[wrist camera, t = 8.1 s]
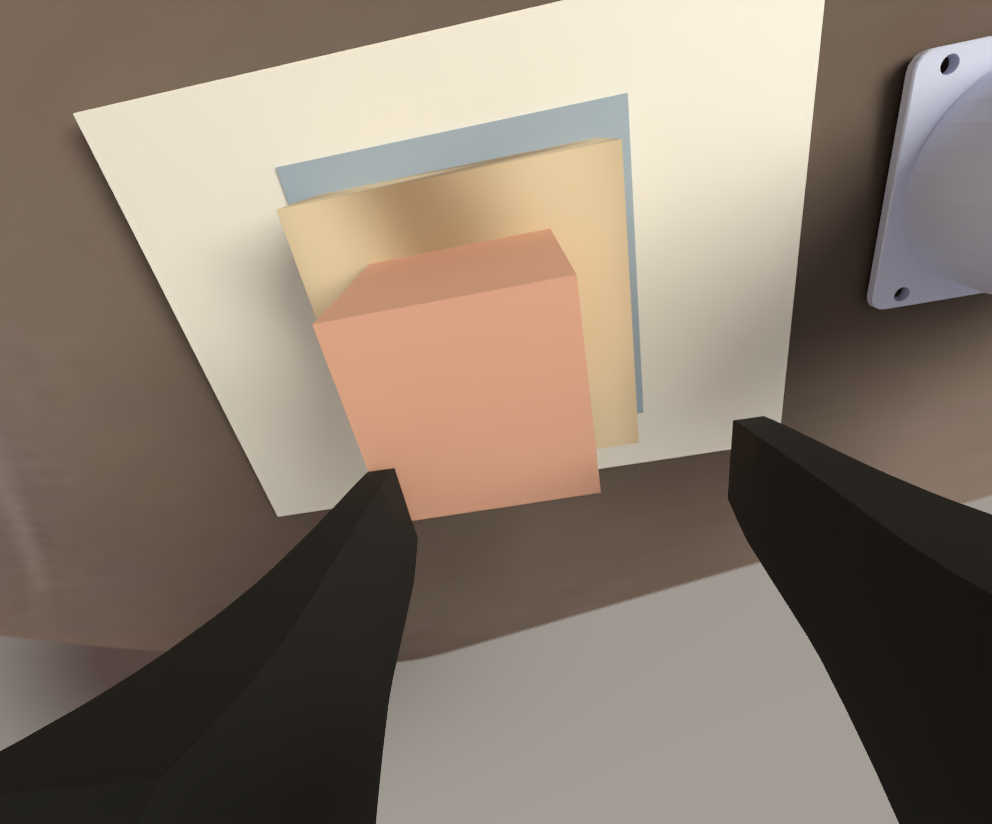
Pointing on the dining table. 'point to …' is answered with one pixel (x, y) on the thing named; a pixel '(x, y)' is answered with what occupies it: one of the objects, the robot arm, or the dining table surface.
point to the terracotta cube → (468, 374)
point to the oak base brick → (491, 215)
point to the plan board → (474, 138)
